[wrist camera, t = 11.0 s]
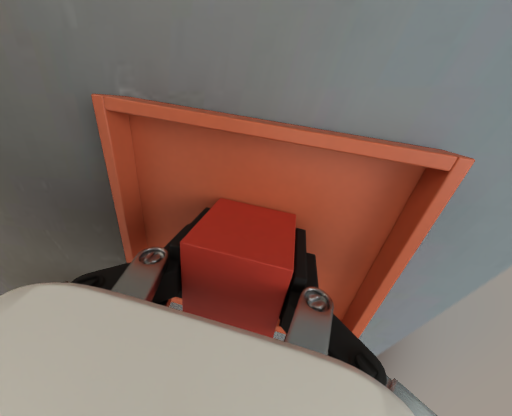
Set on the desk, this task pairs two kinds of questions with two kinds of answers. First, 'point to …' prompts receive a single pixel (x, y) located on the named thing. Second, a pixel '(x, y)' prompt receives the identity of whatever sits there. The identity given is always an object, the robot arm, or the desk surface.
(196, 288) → the red block
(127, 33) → the desk surface
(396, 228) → the orange tray
